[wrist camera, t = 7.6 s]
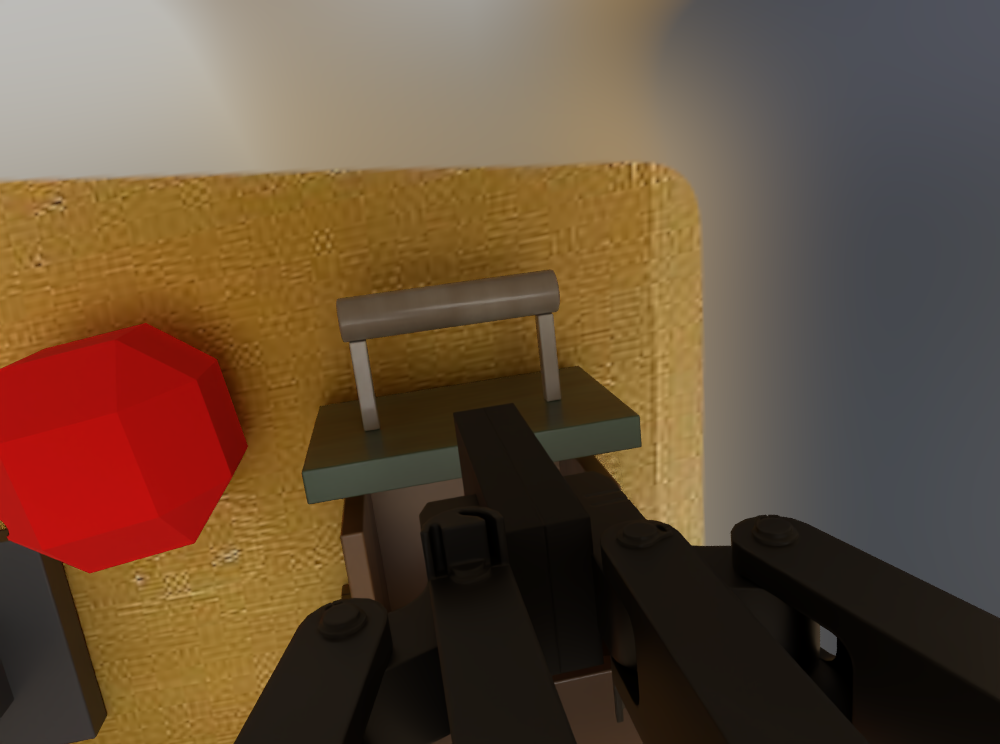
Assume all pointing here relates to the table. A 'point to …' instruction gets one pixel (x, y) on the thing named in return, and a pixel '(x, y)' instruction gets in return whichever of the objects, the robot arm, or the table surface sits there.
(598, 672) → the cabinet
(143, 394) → the red faceted polyhedron
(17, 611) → the stand
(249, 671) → the table surface
